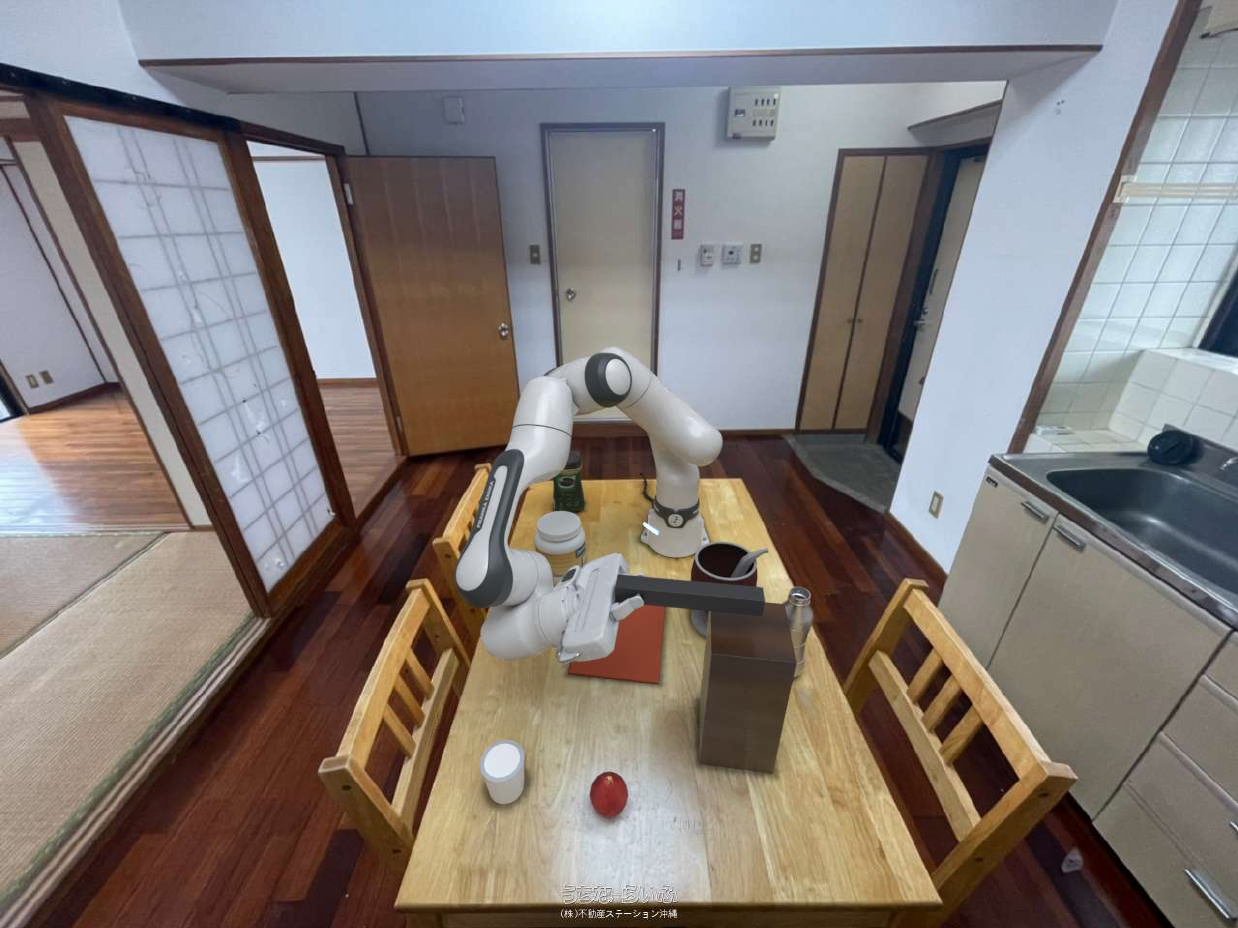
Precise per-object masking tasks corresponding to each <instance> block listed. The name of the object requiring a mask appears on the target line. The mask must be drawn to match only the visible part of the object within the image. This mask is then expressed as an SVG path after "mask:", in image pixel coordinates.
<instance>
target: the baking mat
mask: <svg viewBox="0 0 1238 928" xmlns="http://www.w3.org/2000/svg"><path fill="white" fill-rule="evenodd" d="M665 615H666V607H661V606H651V605H644V606H643V607H640V608H637V609H634V611H633V612H631V613H630V614H629V615H628V616H627V617H626V618H624V619H622V620H619V626H618V631H617V636H616V641H615V647H614V650H613V651H612V652H611V653H610V654H609V655H608V656H607V657H604V658H600V659H595V660H590V661H583V662H577V661H573V662H570V666H569V669H568V675H574V676H582V677H592V678H601V679H611V680H616V681H617V680H618V681H627V682H628V681H629V682H637V683H645V684H652V685H653V684H654V685H659V684H660V674H661V661H662V650H663V639H664V627H665Z"/></svg>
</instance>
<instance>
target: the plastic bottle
mask: <svg viewBox="0 0 1238 928" xmlns="http://www.w3.org/2000/svg"><path fill="white" fill-rule="evenodd" d="M811 597H812V595H811V592H810V590H808V589H806V588H805V587H802V586H793V587H791V588H790V590H789V592H788V595H787V599H786V600H784V601H783V602H781V603H780V604H785V607H786V612H787V617H788V622H789V627H790V632H791V637H792V642H793V647H794V652H795V657H796V662H797V664H796V669H795V673H794V678H796V677H799V676H800V675H801V674H802V672H803V670H804V668H805V665H806V664H805V662H806V657H805V651H806V643H807V639H808V636H809V633H810V631H811V628H812V626H813V624H814V620H815V617H814V616H815V615H814V611H813V609H812V608H811V606H810V603H811Z"/></svg>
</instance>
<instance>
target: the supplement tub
mask: <svg viewBox="0 0 1238 928" xmlns="http://www.w3.org/2000/svg"><path fill="white" fill-rule="evenodd" d="M533 538H534V539H533V543H534V552H539V553H541V554H542V555H544V556H545V557H546V558H547V559H548V561H549V562H550V564H551V567H552V571H553V578H554V587H555V586H556V585H557V584H558V583H559V582H560V581H561V580H562V579H563V577H564V576H565V574H566V573H567V571H568V570H569V569H570V568H571V567H573V566H576V565H578V566H580V568H582V567H583V566H584V565H585V564H587V547H586V545H587V544H586V533H585V530H584V528H583V527H582V523H581V518H580V517H579V516H578V515H577V514H576V513H575V512H567V511H556V510H554V511H550V512H547V513H545V514H543V515H542V516H541V517H540V518H539V519H537V522H536V531H535V533H534V536H533Z"/></svg>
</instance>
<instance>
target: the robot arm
mask: <svg viewBox="0 0 1238 928" xmlns="http://www.w3.org/2000/svg"><path fill="white" fill-rule="evenodd" d="M613 407H616V408H617V409H619V411H620V412H622V413H623V414H624V415H625V416H626V417H628V418H629V419H630V420H632V421H633V422H634V423H635V424H636V425H637V426H639V427H640V428H641V429H643V430H644V431H645V432H646V434H647V436H648V439H649V442H650V449H651V451H652V456H653V460H654V465H655V466H654V467H655V473H656V475H655V477H656V478H655V479H656V481H655V482H656V485H655V495H654V498H652V497H651V496H650V495H649V494H648V493H647V489H648V481H647V478H646V475H645V474H644V472H640V473H639V476H642V478H643V481H644V488H643V491H642V492H643V495H644V496H645V497H646V498H647V499H648V500H649V501H651V507H650V508H649V509H648V513H647V522H643V526H644V527H645V528H644V529H643V531H642V533H641V535H640V541H641V542H642V543H644V544H646V545H648V546H649V547H650V548H651V550H653V551H654V552H655V553H656V554H659V555H661V556H664V557H667V558H677V559H678V558H685V557H689V556H692V555H694V554H696V552H697V550H698V549H699V548H700V547H701V546H703V545H705V544H708V543H710V539H709V536H708V534H707V531H706V528H705V525H704V524H705V521H704V518H703V516H702V514H701V512H700V508H701V502H700V497H699V492H700V482H701V481H700V479H701V474H700V469H699V467H705V466H708V465H710V464H712V463H713V462H714V461H716V460H717V458H719V455H720V453H721V452H722V449H723V445H724V440H723V436H722V433H721V432H720V431H719V430H718V429H717V428H716V427H715V425H713V424H712V423H711V422H710V421H709V420H708V419H707V418H705V417H704V416H703V415H702V414H701V413H700V412H698V410H696V409H695V408H694V407H693V406H692V405H690V404H689V403H688V402H687V401H685V400H684V399H683V398H682V397H681V396H680V395H678V394H676V392H674V391H673V390H672V389H671V388H669V386H667V384H665V383H664V382H663V381H662V380H661V379H660V378H659V377H658V376H657V375H656V374H655V373H654V372H653V371H652V370H651V369H649V368H648V367H647V366H646V365H645V364H644V363H643V362H641V361H640V360H639V359H638V358H637V357H635V356H634V355H632V354H631V353H629V352H628V351H626V350H624V349H622V348H621V347H619V346H613V345H612V346H611V345H610V346H607V347H604V348H602V349H600V351H598V352H596V353H595V354H592V355H587V356H584V357H579V358H576V359H573V360H571V361H569V362H567V363H564V364H562V365H560V366H558V367H553V368H551V369H549V370H548V371H547V372H546V373H544V374H543V375H539V376H534V377H533V378H531V379H529V380H528V381H527V382H526V384H525V385H524V386H523V389H522V391H521V394H520V396H519V400H518V402H517V406H516V409H515V413H514V418H513V423H512V427H511V433H510V437H509V440H508V443H507V445H506V447H505V450H503V451H502V452H500V453H499V454H498V455H497V456H496V458H495V459H494V462H493V463H492V466H491V468H490V471H489V473H488V476H487V479H486V482H485V485H484V488H483V492H482V495H481V498H480V501H479V504H478V508H477V510H476V514H475V517H474V520H473V524H472V528H471V530H470V533H469V536H468V539H467V541H466V543H465V545H464V547H463V549H462V551H461V553H460V554H459V557H458V559H457V561H456V564H455V568H454V573H453V576H454V585H455V588H456V590H457V593H458V595H459V596H460V598H461V600H462V601H463V602H464V603H465V604H466V605H467V606H469V607H471V608H474V609H485V608H486V609H487V608H490V611H489V613H488V616H487V618H486V619H485V621H484V622H483V623H482V625H481V627H480V640H481V643H482V646H483V647H484V650H486V652H487V653H488V654H489V655H490V656H491V657H492V658H494V659H496V660H498V661H501V662H502V661H503V662H515V661H519V660H524V659H528V658H532V657H535V656H538V655H541V654H543V653H544V652H546V651H547V650H548V649H556V651H555V652H556V653H555V658H556V659H557V662H558V663H559V664H562V665H566V664H567V665H568V663H570V664H571V663H572V662H573V661H577V662H583V661H590V660H595V659H600V658H604V657H607V656H608V655H609V654H610V653H611V652H612V651H613V650H614V647H615V641H616V636H617V631H618V626H619V620H622V619H624V618H626V617H627V616H628V615H629V614H630V613H631V612H633V611H634V609H637V608H640V607H643V606H644V599H645V598H644V596H643V595H642V593H641V592H636V593H633V594H630V597H629V598H628V599H627V600H625V601H624V602H622V603H620V602H615V585H616V580H617V576H618V574H620V575H631V576H642V577H647V575H646V574H645V572H639V573H636V574H629V572H630V565H629V563H628V561H627V560H626V559H625V557H624V556H623V554H621V553H619V552H611V553H609V554H605V555H602V556H600V557H598V558H594V559H592V560H590V561H589V562H586V564H585V565H584V566H583V567H582V568H580V566H578V565H576V566H573V567H571V568H570V569H569V570H568V571H567V573H566V574H565V576H564V577H563V579H562V580H561V581H560V582H559V583H558V584H557V585H556V586H555V587H554V578H553V571H552V567H551V564H550V562H549V561H548V559H547V558H546V557H545V556H544V555H542V554H541V553H539V552H535V550H530V549H524V548H516V547H510V546H509V543H508V542H509V537H510V533H511V530H512V526H513V521H514V518H515V515H516V511H517V507H518V504H519V500H520V498H521V496H522V494H523V493H524V492H525V490H527V488H529V487H531V486H533V485H536V484H540V483H545V482H548V481H550V480H553V478H554V477H555V476H557V475H558V474H559V473H560V472H561V471H562V470H563V469H564V468H565V465H566V463H567V460H568V457H569V453H570V451H571V445H572V438H573V429H574V428H573V427H574V418H575V417H577V416H578V417H579V416H585V415H590V414H593V413H595V412H598V411H602V410H604V409H609V408H613Z"/></svg>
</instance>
